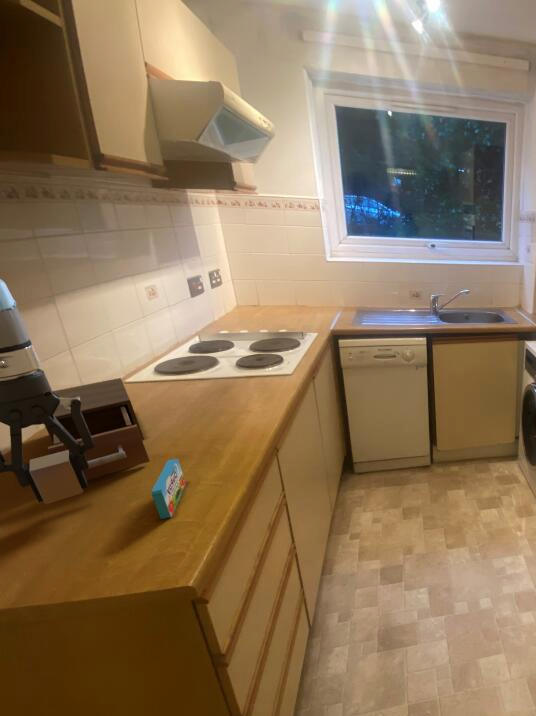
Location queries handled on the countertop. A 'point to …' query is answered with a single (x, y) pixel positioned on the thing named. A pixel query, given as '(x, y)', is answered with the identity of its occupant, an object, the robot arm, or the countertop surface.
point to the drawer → (106, 442)
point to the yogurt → (168, 488)
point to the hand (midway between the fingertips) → (63, 491)
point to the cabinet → (97, 400)
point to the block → (55, 477)
